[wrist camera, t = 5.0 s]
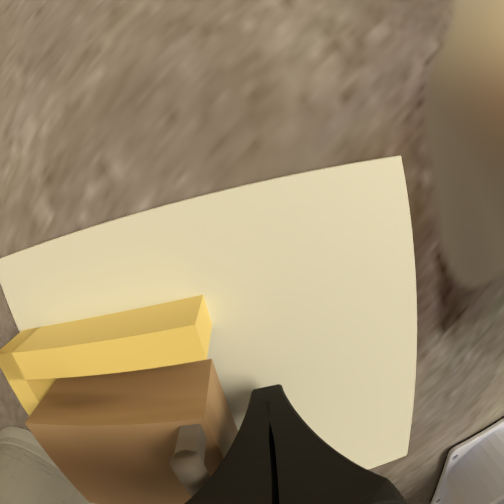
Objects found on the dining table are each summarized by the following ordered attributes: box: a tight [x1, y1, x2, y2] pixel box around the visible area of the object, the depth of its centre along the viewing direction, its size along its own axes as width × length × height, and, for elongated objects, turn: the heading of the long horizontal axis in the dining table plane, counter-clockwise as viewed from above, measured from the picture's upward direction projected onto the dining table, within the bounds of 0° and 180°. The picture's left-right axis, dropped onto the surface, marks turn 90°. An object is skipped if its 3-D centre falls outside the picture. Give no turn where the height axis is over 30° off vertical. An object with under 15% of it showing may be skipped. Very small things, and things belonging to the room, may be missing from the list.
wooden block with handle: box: [25, 359, 238, 504], centre depth 10 cm, size 5×7×6 cm
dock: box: [0, 156, 417, 470], centre depth 12 cm, size 16×17×3 cm
